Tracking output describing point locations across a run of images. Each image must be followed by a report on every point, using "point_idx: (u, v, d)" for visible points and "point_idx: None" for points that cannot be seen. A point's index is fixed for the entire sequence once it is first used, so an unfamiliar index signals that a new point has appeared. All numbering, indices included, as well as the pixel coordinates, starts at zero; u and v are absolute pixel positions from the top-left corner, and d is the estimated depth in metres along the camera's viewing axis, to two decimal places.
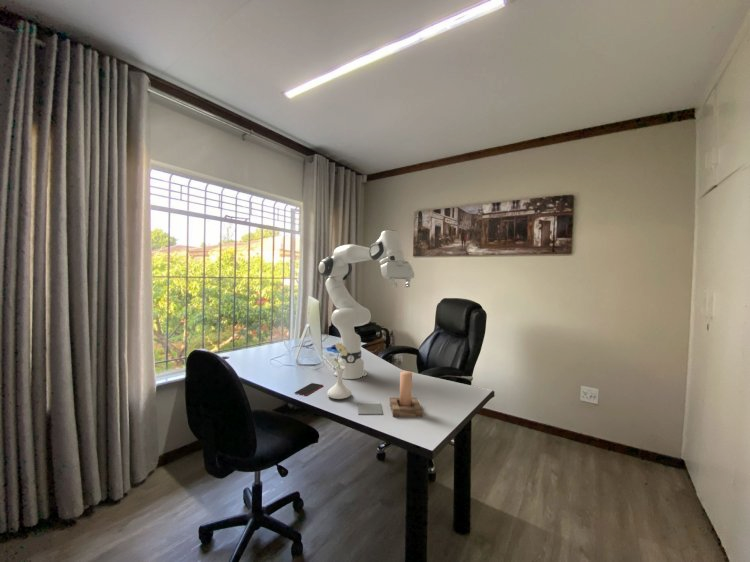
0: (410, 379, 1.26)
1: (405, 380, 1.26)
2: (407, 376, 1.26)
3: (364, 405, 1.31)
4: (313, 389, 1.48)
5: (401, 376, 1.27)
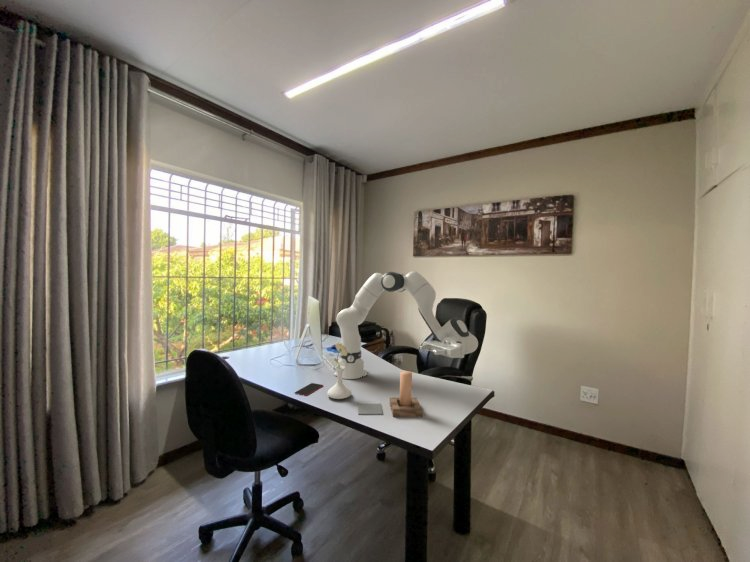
0: (410, 379, 1.26)
1: (405, 380, 1.26)
2: (407, 376, 1.26)
3: (364, 405, 1.31)
4: (313, 389, 1.48)
5: (401, 376, 1.27)
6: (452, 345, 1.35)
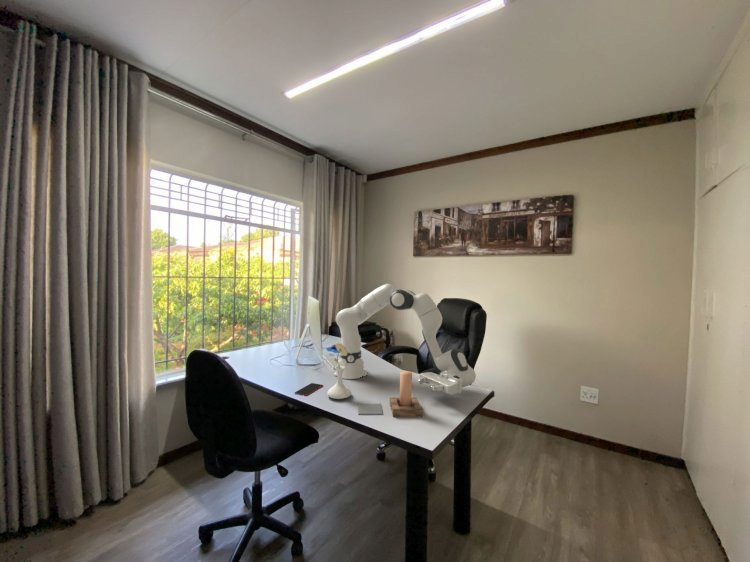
0: (410, 379, 1.26)
1: (405, 380, 1.26)
2: (407, 376, 1.26)
3: (364, 405, 1.31)
4: (313, 389, 1.48)
5: (401, 376, 1.27)
6: (450, 380, 1.35)
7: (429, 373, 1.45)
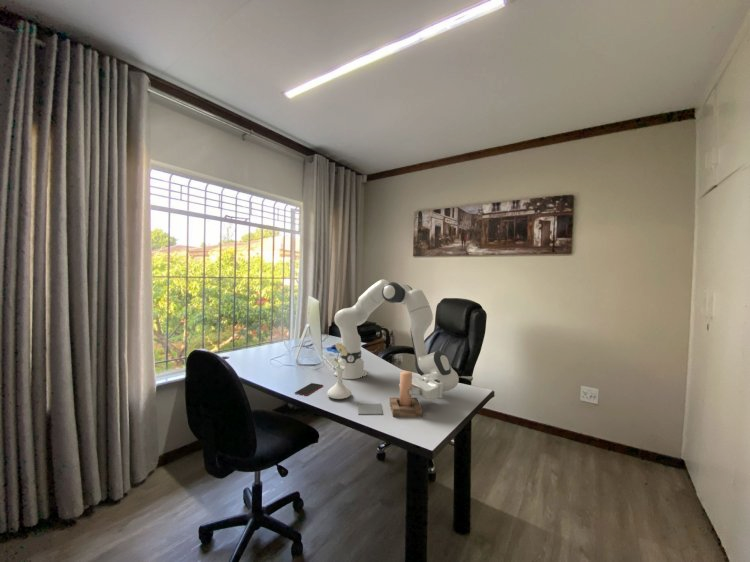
0: (410, 379, 1.26)
1: (405, 380, 1.26)
2: (407, 376, 1.26)
3: (364, 405, 1.31)
4: (313, 389, 1.48)
5: (401, 376, 1.27)
6: (430, 384, 1.29)
7: None
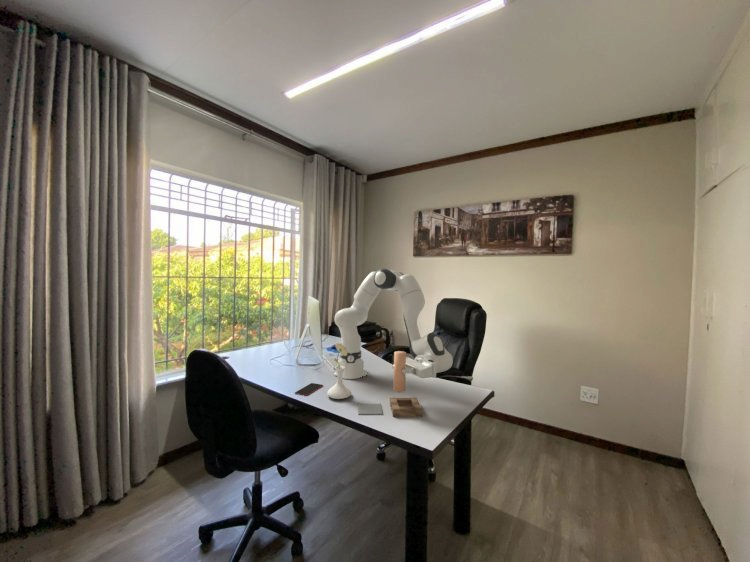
0: (404, 358, 1.27)
1: (399, 359, 1.26)
2: (401, 355, 1.26)
3: (364, 405, 1.31)
4: (313, 389, 1.48)
5: (395, 355, 1.27)
6: (424, 364, 1.29)
7: None
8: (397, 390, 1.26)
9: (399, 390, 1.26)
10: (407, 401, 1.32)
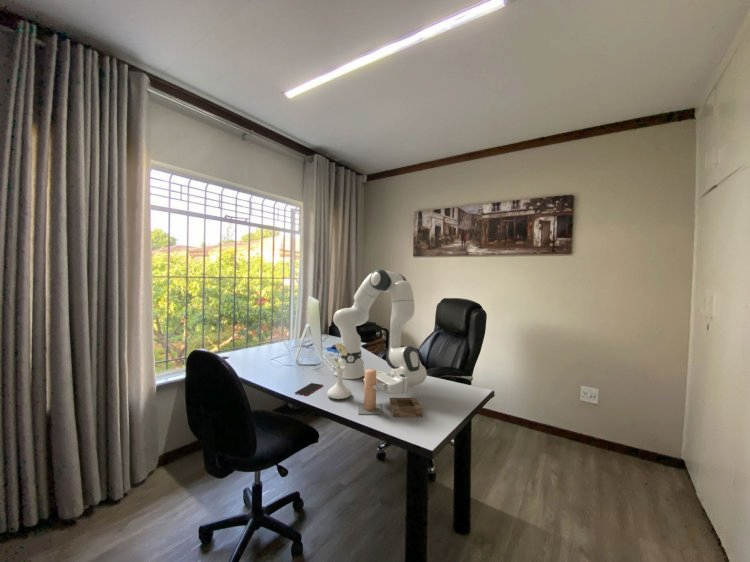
0: (374, 377, 1.27)
1: (369, 378, 1.26)
2: (371, 374, 1.26)
3: None
4: (313, 389, 1.48)
5: (365, 374, 1.27)
6: (395, 378, 1.29)
7: (377, 371, 1.39)
8: (367, 409, 1.26)
9: (369, 409, 1.26)
10: (407, 401, 1.32)
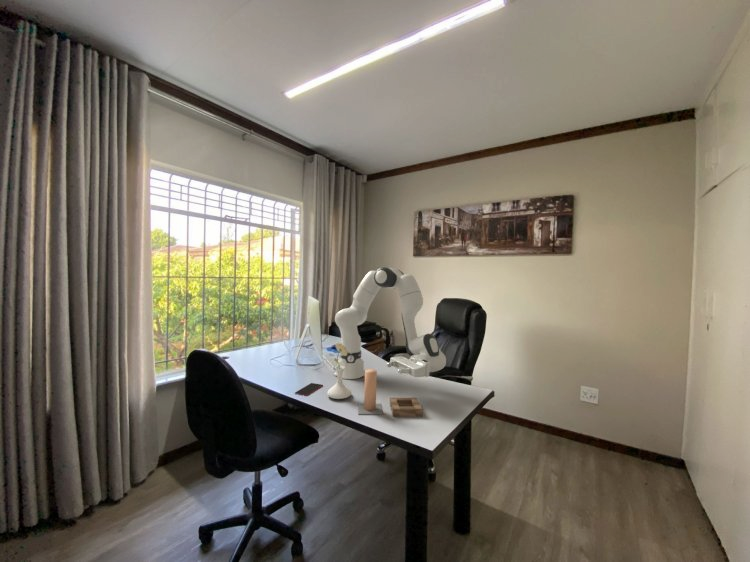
0: (374, 377, 1.26)
1: (369, 378, 1.26)
2: (371, 374, 1.26)
3: None
4: (313, 389, 1.48)
5: (365, 374, 1.27)
6: (418, 363, 1.36)
7: (399, 357, 1.46)
8: (367, 409, 1.26)
9: (369, 409, 1.26)
10: (407, 401, 1.32)
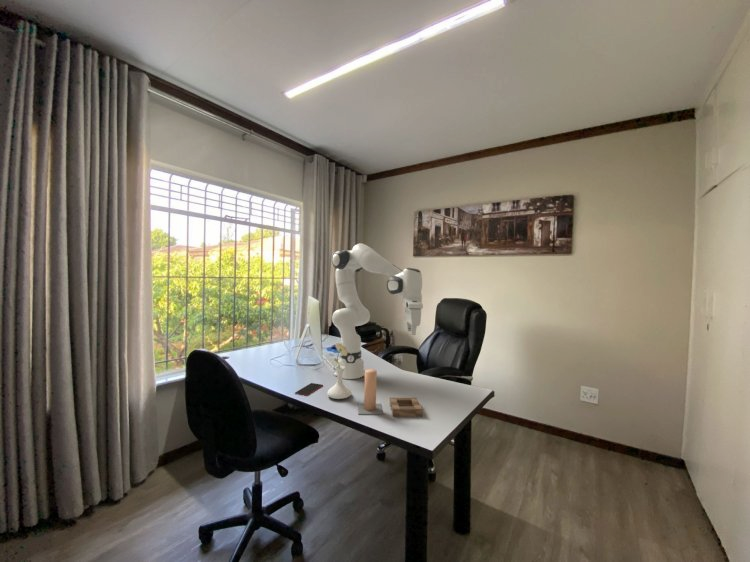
0: (374, 377, 1.26)
1: (369, 378, 1.26)
2: (371, 374, 1.26)
3: None
4: (313, 389, 1.49)
5: (365, 374, 1.27)
6: (409, 311, 1.34)
7: (405, 311, 1.47)
8: (367, 409, 1.26)
9: (369, 409, 1.26)
10: (407, 401, 1.32)
